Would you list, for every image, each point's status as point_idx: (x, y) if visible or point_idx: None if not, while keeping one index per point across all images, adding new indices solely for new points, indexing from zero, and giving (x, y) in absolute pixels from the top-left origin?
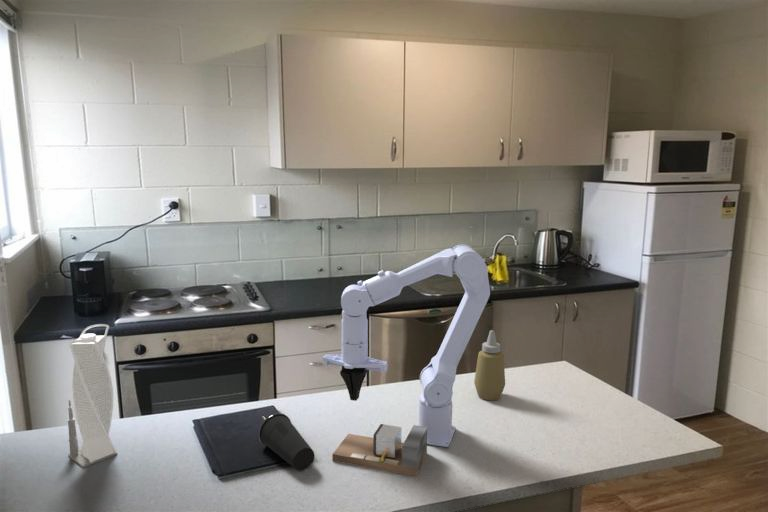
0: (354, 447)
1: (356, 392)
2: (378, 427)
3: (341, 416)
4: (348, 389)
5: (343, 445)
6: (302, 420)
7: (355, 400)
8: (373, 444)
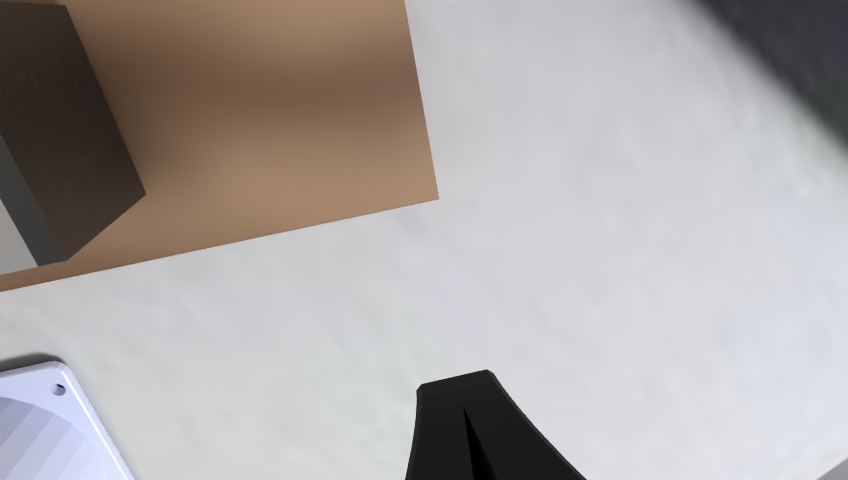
0: (285, 47)
1: (408, 472)
2: (26, 184)
3: (601, 380)
4: (553, 464)
5: (377, 31)
6: (793, 239)
7: (423, 386)
8: (8, 2)
